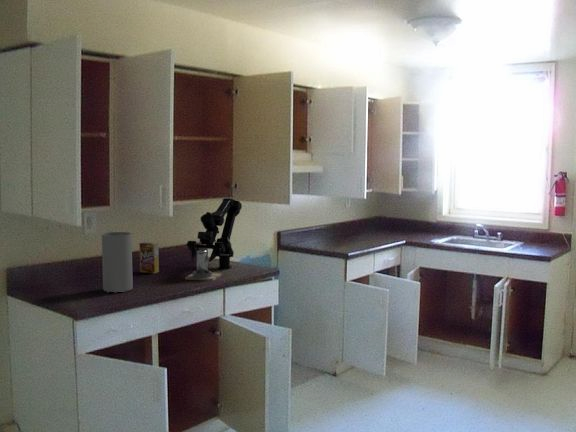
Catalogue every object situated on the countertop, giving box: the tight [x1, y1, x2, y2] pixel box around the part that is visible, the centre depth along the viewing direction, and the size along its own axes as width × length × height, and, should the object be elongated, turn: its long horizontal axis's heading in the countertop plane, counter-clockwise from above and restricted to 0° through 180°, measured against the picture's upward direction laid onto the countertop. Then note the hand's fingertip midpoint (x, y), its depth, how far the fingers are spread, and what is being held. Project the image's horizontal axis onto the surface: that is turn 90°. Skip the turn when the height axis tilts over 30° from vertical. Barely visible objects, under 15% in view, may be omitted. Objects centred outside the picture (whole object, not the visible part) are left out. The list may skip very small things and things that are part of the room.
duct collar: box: [192, 270, 213, 278], centre depth 283 cm, size 9×9×2 cm
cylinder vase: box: [101, 231, 134, 294], centre depth 256 cm, size 12×12×25 cm
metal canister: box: [196, 249, 209, 274], centre depth 283 cm, size 6×6×12 cm
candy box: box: [139, 241, 160, 274], centre depth 296 cm, size 9×4×15 cm, turn 69°
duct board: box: [184, 272, 223, 282], centre depth 286 cm, size 14×14×1 cm
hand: (200, 260), depth 281 cm, fingers open, 9 cm apart
